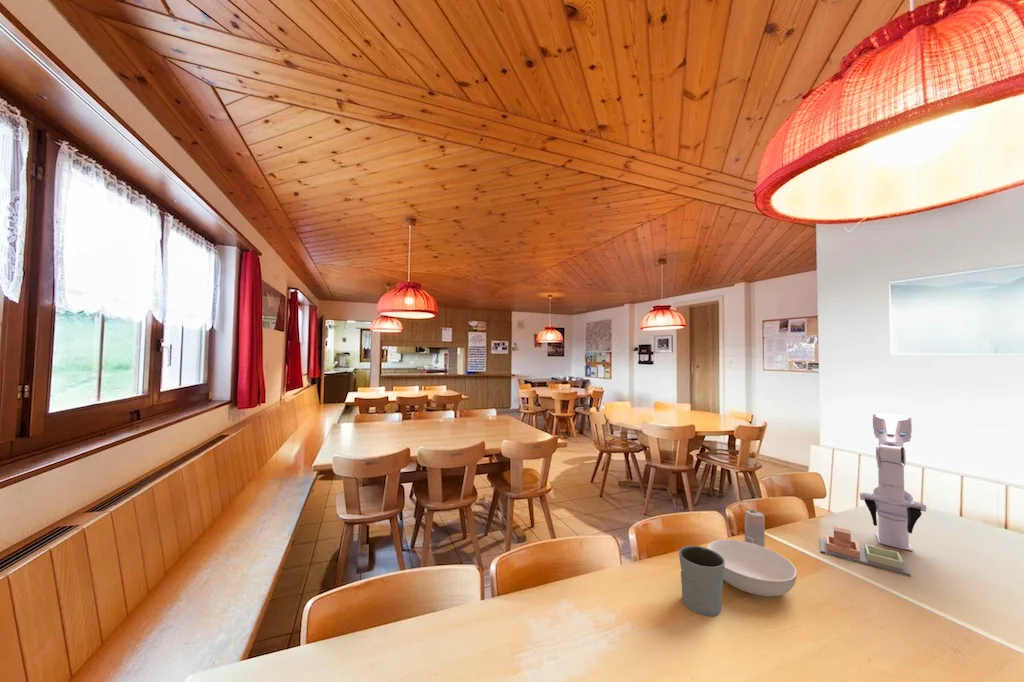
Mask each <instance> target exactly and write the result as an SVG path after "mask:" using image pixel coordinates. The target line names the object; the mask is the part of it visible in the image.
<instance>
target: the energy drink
mask: <svg viewBox="0 0 1024 682" xmlns="http://www.w3.org/2000/svg"><path fill="white" fill-rule="evenodd" d="M765 523H766V522H765V514H764V513H763V512H761V511H759V510H756V509H746V510H745V512H744V542H749V543H753V544H756V545H759V546H762V547H765V548H766V544H765V543H766V542H765V541H766V540H765V537H766V533H765V532H766V531H765V529H766V526H765Z"/></svg>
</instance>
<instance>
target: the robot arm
mask: <svg viewBox="0 0 1024 682" xmlns="http://www.w3.org/2000/svg"><path fill="white" fill-rule="evenodd" d="M912 427H913V426H912V417H911V416H910V415H907V416H906V415H898V414H888V413H877V412H874V413H873V414H872V428H873V435H874V437H875V438H876V439H878V445H876V446H875V459H876V463H877V464H876V465H877V468H878V469H877V471H878V472H877V473H878V479H877V480H878V486H877V487H874V489H873V492H872V493H869V492H861V491H860V492H859V499H860V501H861V500H862V501H864V503H865V505H866V507H867V508H868V511H869V513H870V516H871V519H872V524H873V526H876V527H877V526H878V532H875V536H876V540H877V543H878V544H880V545H885V546H889V547H893V548H897V549H901V550H905V551H906V550H907V551H911V552H913V550H914V549H913V548H912V546H911V544H910V541H909V540H910V535H909V534H913V529H914V527H915V525H916V523H917V521H918V519H920V517H921V516H922V514H923V513H922V512H925V513H926V512H927V505H926V504H925V503H924V502H919V501H914V499H913V496H912V494H911V493H909V492H908V491H906V490H905V468H904V467H905V466H906V463H907V462H906V449H905V446H904V443H908V442H910V441H911V439H912V433H913V432H912V431H913V430H912ZM877 515H878V517H877ZM877 519H878V520H877Z"/></svg>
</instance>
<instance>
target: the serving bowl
mask: <svg viewBox="0 0 1024 682" xmlns="http://www.w3.org/2000/svg"><path fill="white" fill-rule="evenodd" d="M706 548H708V549H710V550H713V551H715V552H717V553H718V554H720V555H721V556H722V557H723V558H724V560H725V565H724V573H723V582H724V581H725V582H726V583H727V584H729V585H731V586H732V587H734V588H736V589H739V590H740V591H743V592H745V593H750V594H752V595H756V596H763V597H777V596H781V595H785V594H786V593H788V592H790V591H791V590H792V589H793V587H795V584H796V581H797V576H798V570H797V568H796V566H795V565H794V564H793V563H792V562H791V561H790V560H789V559H788V558H786V557H785V556H783V555H782V554H780V553H778V552H776V551H774V550H772V549H770V548H767V547H766V546H765V547H762V546H759V545H756V544H753V543H749V542H745V540H744V541H743V540H736V539H717V540H714V541H710V543H708V544H707V545H706Z"/></svg>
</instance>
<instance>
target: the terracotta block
mask: <svg viewBox="0 0 1024 682" xmlns="http://www.w3.org/2000/svg"><path fill="white" fill-rule="evenodd" d="M833 537H834V545H838V546H842V547H846V548H850V549H851V541H852V533H851V530H850V529H849V528H843V527H839V526H833Z"/></svg>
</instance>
